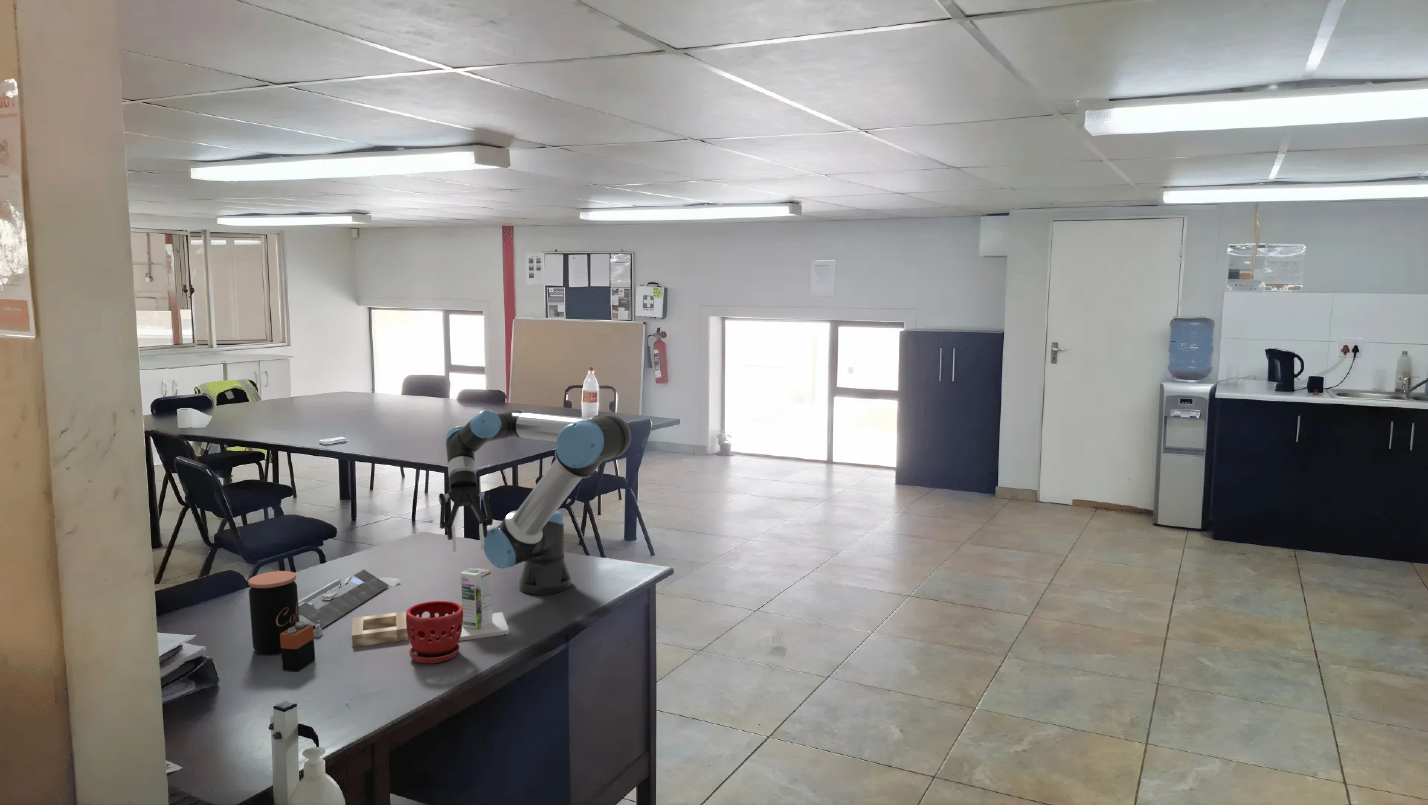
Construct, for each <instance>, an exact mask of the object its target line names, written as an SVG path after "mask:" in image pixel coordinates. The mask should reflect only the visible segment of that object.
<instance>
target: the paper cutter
mask: <svg viewBox="0 0 1428 805" xmlns="http://www.w3.org/2000/svg"><path fill="white" fill-rule="evenodd" d="M353 576H354V577H352V576H347V577H346V578H345V580H344V581H343V582H342V581H341V580H342V579H341V578H337V579H336V580H333V581H332V582H330V583H328V584H326V585H324V586H323V587H321V588H319V589H317V590H315V591H314V592H312V593H310V594H308V595H306V596H304V597H303V598H301V599H298V607H299V615H301V616H302V617H304V618H305V619H307V620H308V621H310V622H312V623H313V624H314V625H315V626H314V629H313V634H314V638H318V636H319V637H321V636H322V635H323V628H325V627H326V626H327V625H329V624H331V623H333V622H334V621H335V620H338V619H339V618H341V617H342V616H344V615H345V614H347V613H349V612H350V611H351V610H353V609H355V608H356V607H358V606H359V605H361V604H362V603H364V602H366V601H367V600H369V599H371V598H372V597H374V596H375V595H377V594H378V593H380V592H382V591H384V590H385V589H387V588H388V587H397V585H398V584H399V582H400V581H401V579H398V578H395V577H382V576H381V577H376V576H375V575H373V574H372V573H370V572H369V571H367V570H366V569H363V570H360V571H358V572H357V573H355V574H353ZM349 581H350V582H353V583H356V584H360V585H356V586H355V587H353V588H351V589H349V590H348V591H346V592H345V593H343V594H341V595H339V594H338V592H337V591H334V592H328V593H326V592H327V591H328V590H331V589H332V588H334V587H336V586H338V585H339V584H341V585H342V583H345V584H346V583H347V582H349ZM346 585H347V584H346ZM323 593H326V594H324V595H323V596H322V598H324V599H332V598H334V597H335V596H337V595H338V597H336V598H334V599H333V600H331V601H329V602H327V603H325V604H324V605H322V606H321V607H319V608H316V607H315V603H313V602H309V601H311V600H312V599H314V598H316V597H317V596H319V595H321V594H323ZM321 634H322V635H321Z"/></svg>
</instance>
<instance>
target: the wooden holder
mask: <svg viewBox="0 0 1428 805" xmlns="http://www.w3.org/2000/svg"><path fill="white" fill-rule="evenodd" d="M406 611H407V610H406ZM406 611H399V612H398V611H397V612H390V613H382V614H373V615H367V616H366V615H364V616H357V617H353V618H352V629H351V643H352V645H351V646H352V648H356V647H357V648H358V647H364V646H371V645H379V644H380V645H381V644H384V643H385V644H387V643H395V642H401V641H400V640H402V641H407V640H406V639H408V640H409V638H408V634H407V627H406ZM386 642H387V643H386Z"/></svg>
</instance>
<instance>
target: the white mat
mask: <svg viewBox="0 0 1428 805" xmlns="http://www.w3.org/2000/svg"><path fill="white" fill-rule="evenodd" d="M504 634H506V635H509V634H510V630H509V626H508V624H507V621H506V618H505V616H504V613H503V612H499V611H498V612H494V613H493V612H492V623H490V624H488V625H487V626H485V627H483V628H482V629H476V628H469V627H463V626H462V632H461V636H460V639H459V641H458V642H461V641H467V640H475V639H482V638H489V637H497V636H498V637H499V636H503V635H504Z"/></svg>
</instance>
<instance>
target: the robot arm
mask: <svg viewBox="0 0 1428 805" xmlns="http://www.w3.org/2000/svg"><path fill="white" fill-rule="evenodd" d="M445 437H446V438H445V440H446V442H445V447H446V457H447V470H448V485H449V491H448V492H447V493H442V492H441V493H439V494H438V501H439V503H440V517H439V518H440V519H439V528H440V529H441V530H443V529H445V530H446V534H447V540H449V541H451V543H452V544H451V545H452V552H453V553H457V540H456V527H455V526H456V525H454V523H455V519H456V517H457V513H458V511H459V508H460V507H461V508H463V507H470V509H471V510H472V511H473V514H474V515H475V517H476V518H477V520H478V522H479V524H478V525H479V526H478V527H479V528H478V532H479V533H478V534H479V544H480V550H483V551H484V555H485V558H487V560H488V561H489V563H490V564H492V565H493V566H494V567H496V568H498V569H501V570H502V569H508V568H512V567H514V566H515V565H518V564H521V563H523V567H522V570H521V572H520V573H521V574H520V576H519V579H518V580H519V581H518V583H519V584H518V585H519V590H520V591H521V592H523V593H526V594H530V595H551V594H556V593H560V592H563V591H566V590H568V589H570V588H571V586H572V577H571V574H570V571H569V568H568V566H567V563H566V560H565V528H564V526H565V524H564V516H563V514H562V513H561V511H559V510H558V509H560V507H561V505H562V504H563V503H564V502H565V501H566V499H567V497H568V496H570V494H571V493H572V492H573V490H575V488H576V486H577V485H578V484H579V483H580V481H581V480H582V479H586V478H590V477H591V476H592V475H593V474H594V473H595V471H596V470H597V469H598V467H599V466H600V465H601V464H602V463H603V462H605V461H608V460H609V461H610V460H611V459H615V458H618V457H620V456H621V455H623V454H624V453H625V452H626V451H627V450H628V448H629V447H630V444H631V441H632V433H631V429H630V427H629V424H628V423H627V422H626V421H625V420H624V419H623V418H622V417H619V416H617V415H613V414H612V415H610V414H609V415H599V414H595V415H593V416H592V417H580V416H568V415H559V414H558V415H557V414H544V413H533V412H528V411H526V410H523V409H512V410H510V411H505V412H500V413H499V412H498V413H495V411H492V410H491V411H490V410H488V409H483V410H481V411H479V412H478V413H477V414H475V415H474V416H473V417H472V418H471V419H470V420H469V421H468V422H467V423H466V424H465V425H464V426H463V425H458V426H455V427H453V428H450V429H448V431H447V432H446V435H445ZM507 438H518V439H519V438H520V439H527V440H528V439H531V440H540V441H549V442H556V443H555V444H557V446H556V447H555V451H554V455H555V456H554V457H555V460H554V461H553V463H552V464H551V465H550V466H549V467H548V469H547V470H546V472H545V473H544V474H543V475H542V477H541V478H540V479H539V481H538V482H537V483H536V485H535V486H534V488H533V489H532V490H531V491H530V493H529V494H528V496H527V497H526V498H525V500H524V501H523V502H522V503H521V505H520V506H519V508H517V510H512V511H510V512H509V513H508V514H507V515H506V516H505V517H504V518H503V520H502V521H501V523H500V524H499V525H498V526H496V527H492V528H490V529H488V526H492V525H493V523H494V522H493V521H494V517H493V513H492V508H491V505H490V499H489V498H490V491H489V490H485V491H481V490H480V489H479V487H478V479H477V469H476V468H477V467H476V460H475V459H476V458H475V456H476V455H475V453H476V452H478V451H479V450H480V449H481V448H482V447H483V446H484V445H485V444H487V443H489V442H494V441H498V440H502V439H504V440H505V439H507ZM479 497H480V499H481V501H483V507H484V508H483V509H484V512H485V516H486V517H485V516H484V513H483V512H482V510H481V509H480V506H479V505H478V502H477V500H478V498H479ZM448 499H450V500H451V502H452V503H453V505H452V509H451V511H450V514H449V517H448V521H445V520H446V503H447V502H448V501H449V500H448Z"/></svg>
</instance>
